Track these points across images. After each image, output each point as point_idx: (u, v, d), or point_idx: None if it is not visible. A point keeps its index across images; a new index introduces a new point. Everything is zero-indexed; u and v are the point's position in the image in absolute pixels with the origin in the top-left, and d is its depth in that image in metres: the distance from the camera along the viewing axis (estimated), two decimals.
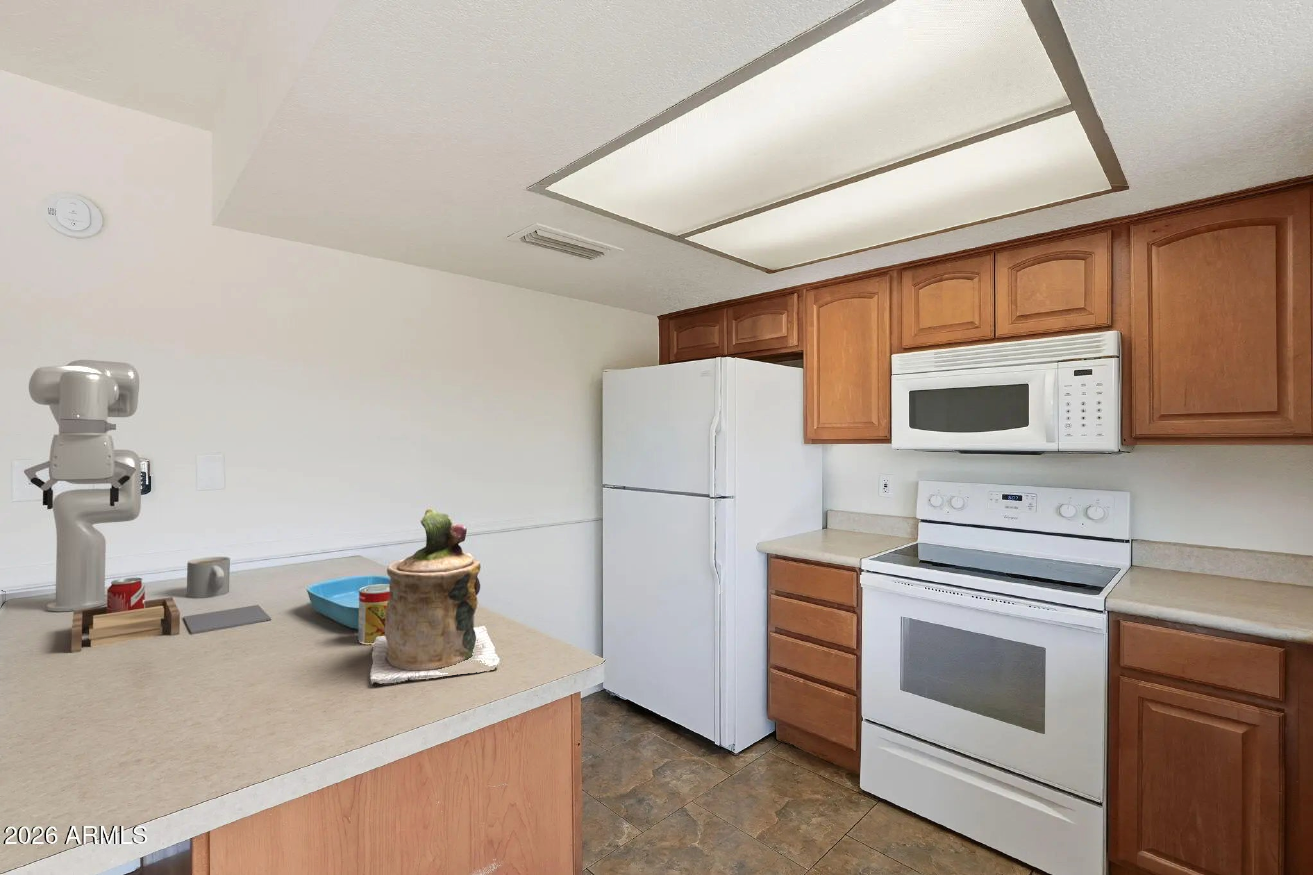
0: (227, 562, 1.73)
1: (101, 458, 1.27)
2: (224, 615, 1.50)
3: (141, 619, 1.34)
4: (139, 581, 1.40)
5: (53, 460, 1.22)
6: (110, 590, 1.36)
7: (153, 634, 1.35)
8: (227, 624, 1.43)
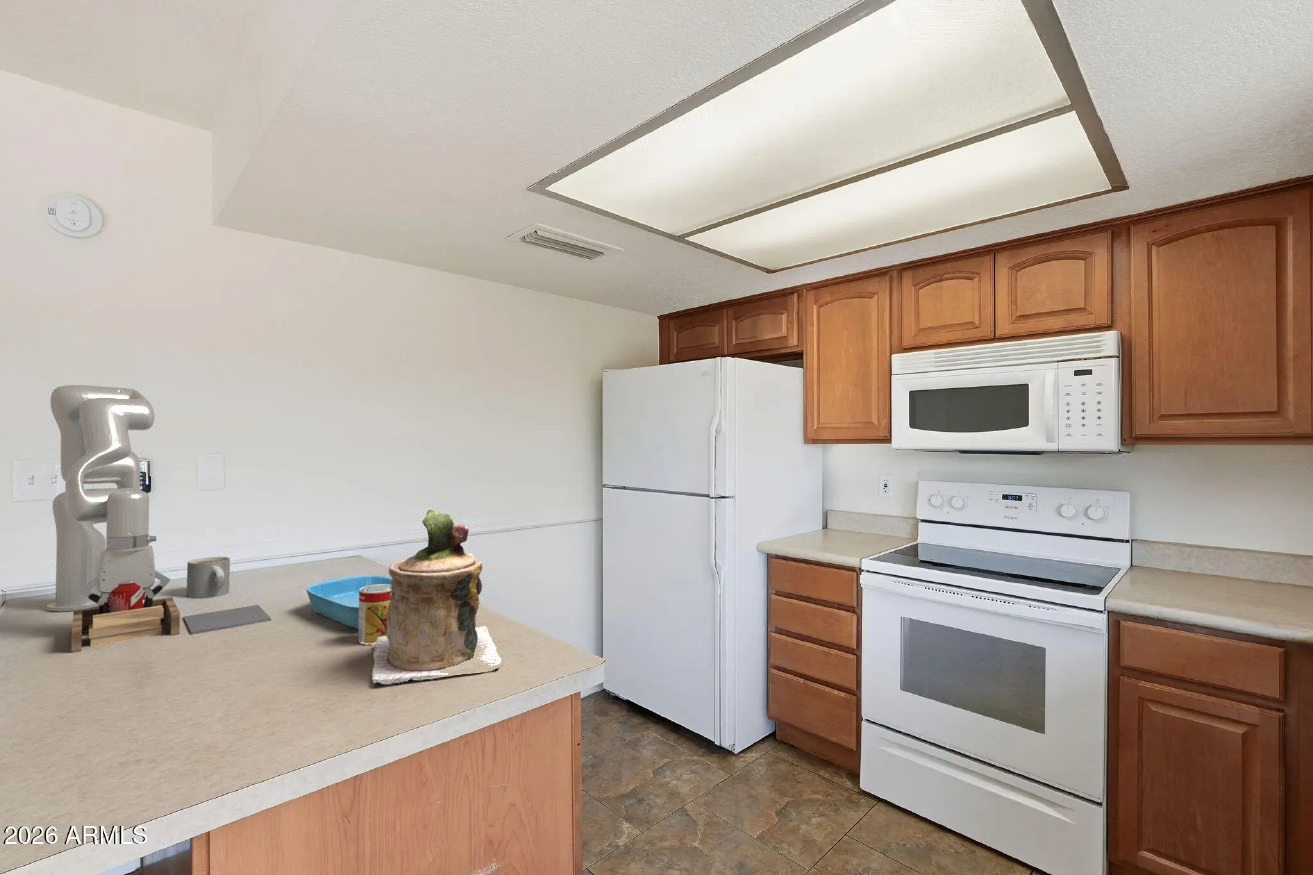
0: (227, 562, 1.73)
1: (143, 569, 1.39)
2: (224, 615, 1.50)
3: (140, 618, 1.34)
4: None
5: (101, 575, 1.35)
6: None
7: (153, 633, 1.36)
8: (227, 624, 1.43)
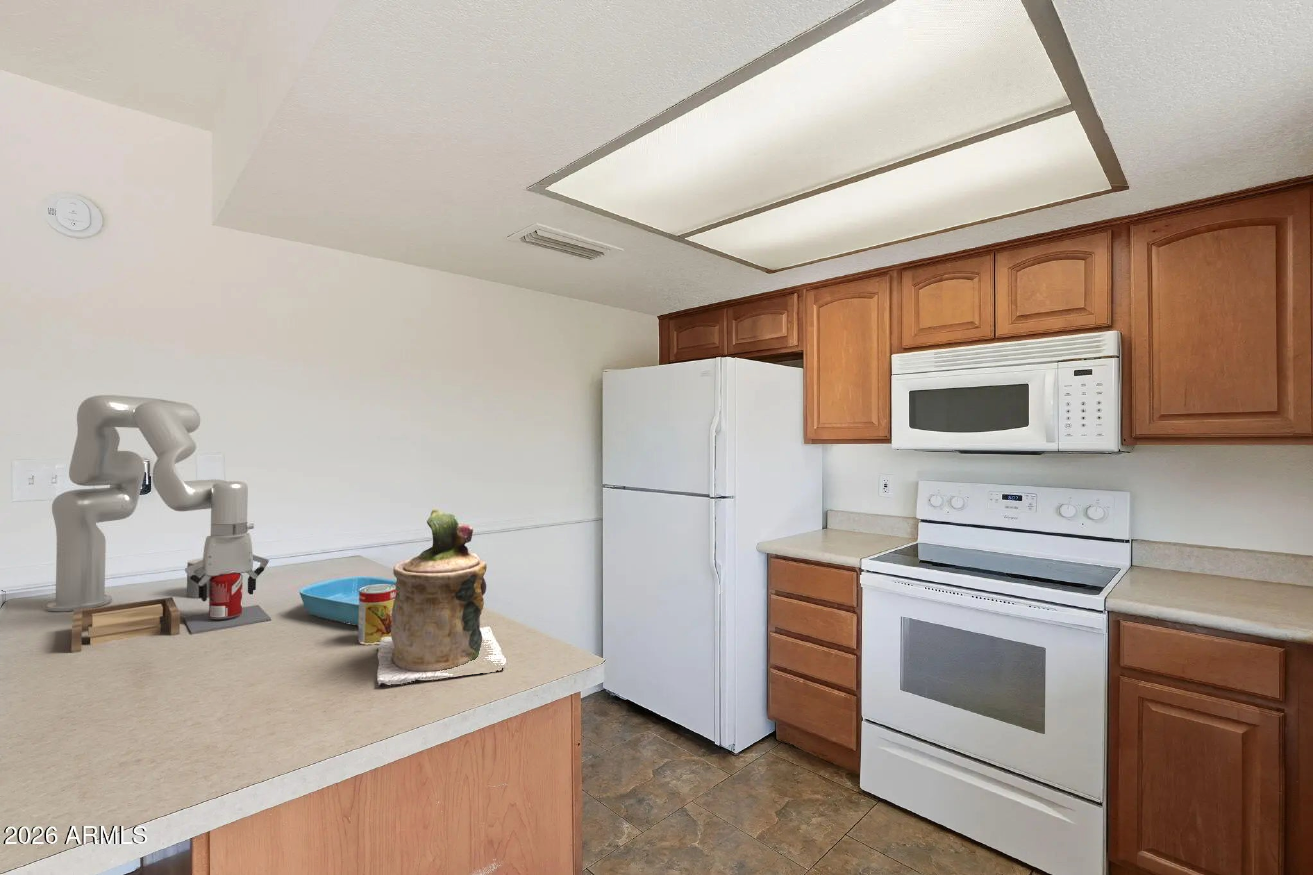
0: None
1: (244, 555, 1.49)
2: None
3: (139, 617, 1.35)
4: None
5: (208, 560, 1.44)
6: (213, 579, 1.45)
7: (152, 632, 1.37)
8: (227, 624, 1.43)
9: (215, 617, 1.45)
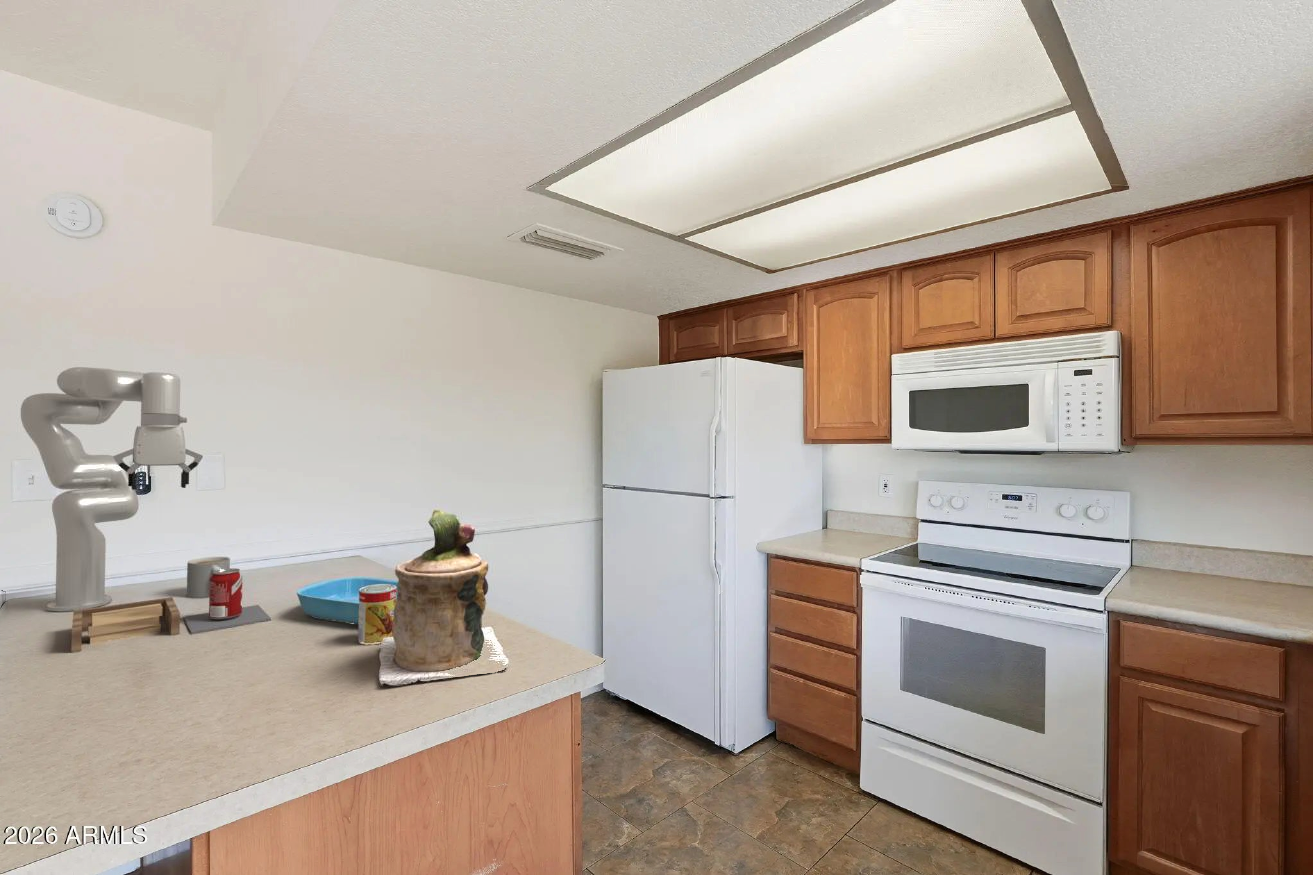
0: (227, 562, 1.73)
1: (175, 446, 1.48)
2: None
3: (139, 616, 1.36)
4: (238, 571, 1.49)
5: (137, 448, 1.44)
6: (213, 579, 1.45)
7: (151, 631, 1.37)
8: (227, 624, 1.43)
9: (215, 617, 1.45)
